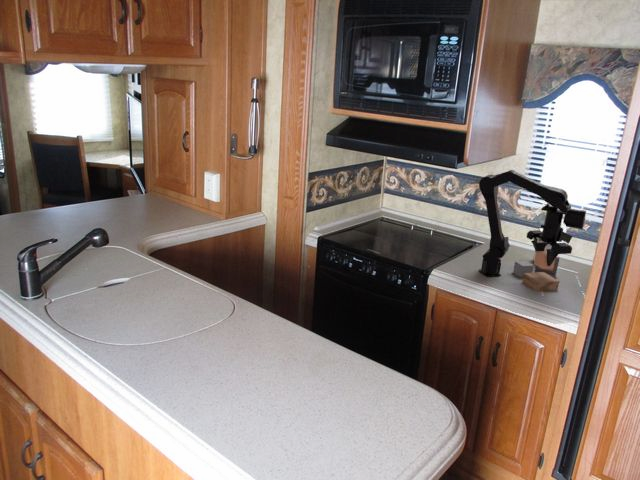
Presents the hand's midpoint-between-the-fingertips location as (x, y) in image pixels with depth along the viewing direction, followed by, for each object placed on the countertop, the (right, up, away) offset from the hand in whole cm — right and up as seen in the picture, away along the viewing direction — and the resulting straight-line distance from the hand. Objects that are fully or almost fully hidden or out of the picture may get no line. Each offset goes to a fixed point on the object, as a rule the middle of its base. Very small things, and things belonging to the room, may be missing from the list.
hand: (544, 263), depth 207 cm
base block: (0, -9, +3) cm, 10 cm away
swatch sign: (+6, -5, +15) cm, 17 cm away
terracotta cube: (0, -1, 0) cm, 1 cm away
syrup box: (+10, -1, +28) cm, 29 cm away
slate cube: (-4, -5, +13) cm, 14 cm away
